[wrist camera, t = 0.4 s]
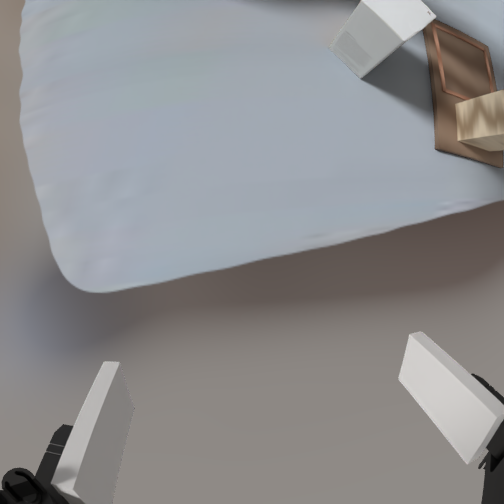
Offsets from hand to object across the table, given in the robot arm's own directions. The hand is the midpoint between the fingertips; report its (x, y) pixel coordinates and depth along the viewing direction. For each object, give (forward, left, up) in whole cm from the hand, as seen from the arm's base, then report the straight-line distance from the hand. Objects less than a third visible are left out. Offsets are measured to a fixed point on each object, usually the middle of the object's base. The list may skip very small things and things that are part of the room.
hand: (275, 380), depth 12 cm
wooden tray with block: (-28, +34, -26) cm, 52 cm away
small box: (-29, +14, -26) cm, 42 cm away
